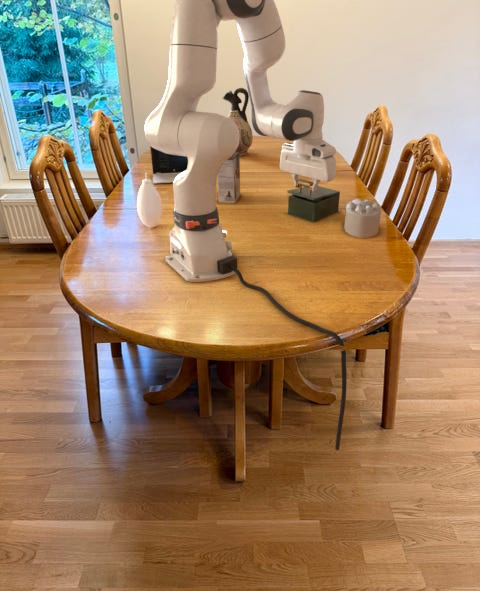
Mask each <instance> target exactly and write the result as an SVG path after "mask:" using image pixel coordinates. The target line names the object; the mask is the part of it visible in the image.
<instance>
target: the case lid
mask: <svg viewBox="0 0 480 591" xmlns="http://www.w3.org/2000/svg"><path fill="white" fill-rule="evenodd" d="M313 184H314V182H313V181H311V180H310V181H309V180H307V179H302V178H299V181H298V185H299V188H293V189H289V190H287V191H286V192H287V194H290V195H297V196H300V197H304V198H307V199H311V200H317V199H321V198H325V197H328V196H332V195H336V194H340V195H341V191H340V190H336V189H332V188H329V187H324V186H321V185H318V186H317V191H316V192H311V191H310V186H312V185H313Z"/></svg>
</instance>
